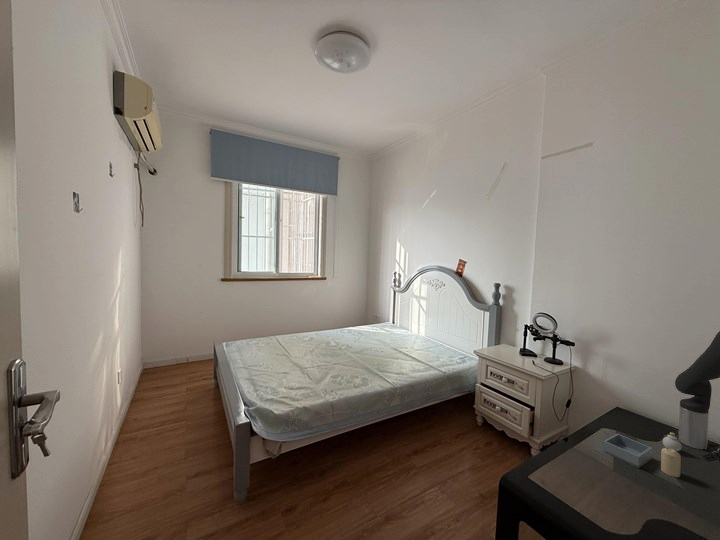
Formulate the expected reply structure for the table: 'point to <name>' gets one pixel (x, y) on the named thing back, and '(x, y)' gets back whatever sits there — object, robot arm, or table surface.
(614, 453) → the tray
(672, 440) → the ornament
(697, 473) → the table surface
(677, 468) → the candle
